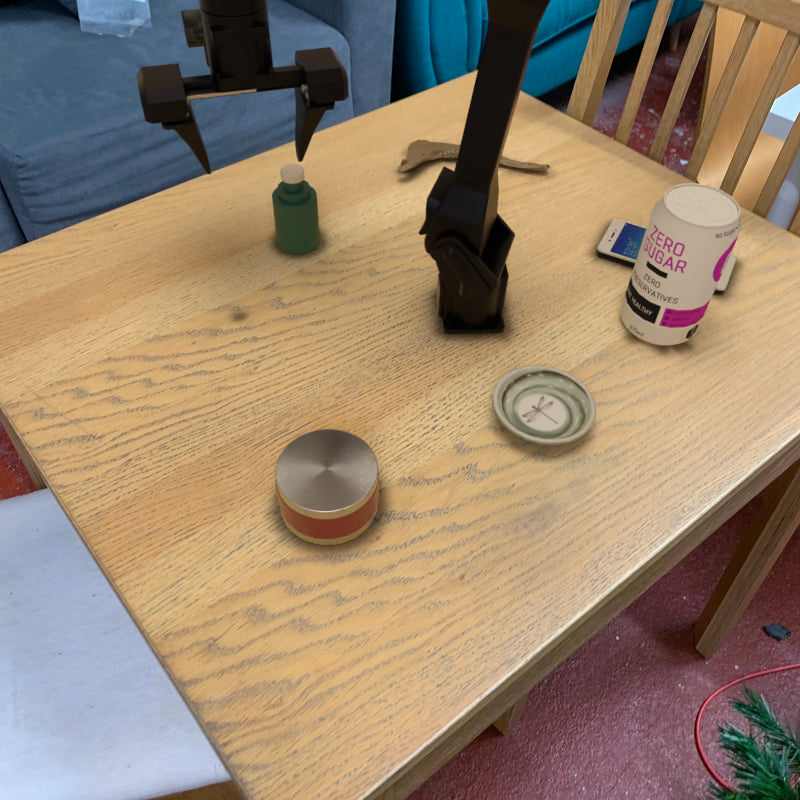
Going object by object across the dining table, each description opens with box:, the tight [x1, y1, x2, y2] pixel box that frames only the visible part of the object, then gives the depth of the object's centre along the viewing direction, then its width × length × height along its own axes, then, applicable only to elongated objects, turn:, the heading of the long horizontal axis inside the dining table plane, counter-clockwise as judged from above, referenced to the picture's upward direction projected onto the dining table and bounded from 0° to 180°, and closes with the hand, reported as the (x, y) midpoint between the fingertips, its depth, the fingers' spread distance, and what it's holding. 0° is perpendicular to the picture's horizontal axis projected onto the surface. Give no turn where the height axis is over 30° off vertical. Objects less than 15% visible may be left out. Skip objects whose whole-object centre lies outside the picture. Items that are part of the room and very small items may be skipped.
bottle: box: [271, 163, 321, 255], centre depth 87 cm, size 5×5×10 cm
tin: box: [274, 428, 380, 546], centre depth 64 cm, size 8×8×5 cm
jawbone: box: [396, 139, 551, 173], centre depth 102 cm, size 9×20×2 cm, turn 99°
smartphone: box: [595, 218, 737, 295], centre depth 89 cm, size 7×1×15 cm
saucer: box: [491, 365, 597, 446], centre depth 72 cm, size 10×10×2 cm
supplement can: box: [619, 182, 742, 346], centre depth 77 cm, size 8×8×15 cm
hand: (254, 165), depth 77 cm, fingers open, 9 cm apart
